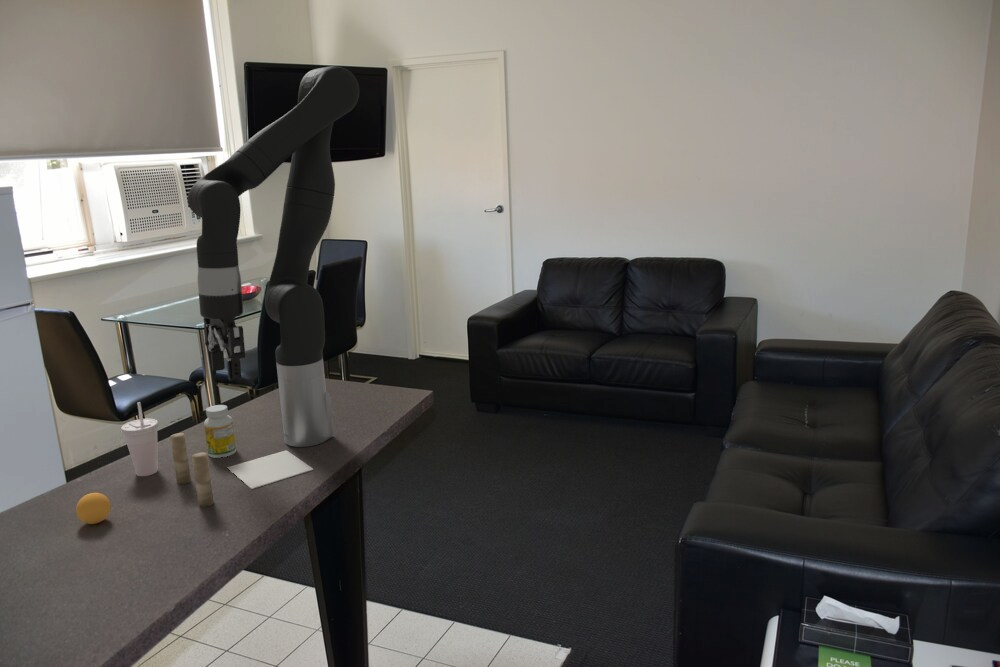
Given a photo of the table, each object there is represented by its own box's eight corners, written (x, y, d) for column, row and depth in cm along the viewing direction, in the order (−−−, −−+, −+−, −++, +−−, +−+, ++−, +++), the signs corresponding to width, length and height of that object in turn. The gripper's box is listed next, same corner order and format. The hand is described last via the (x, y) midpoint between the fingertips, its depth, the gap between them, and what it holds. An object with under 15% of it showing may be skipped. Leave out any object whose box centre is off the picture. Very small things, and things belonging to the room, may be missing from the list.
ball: (108, 511, 127) (104, 484, 126) (116, 522, 123) (111, 494, 122) (75, 521, 124) (70, 493, 123) (82, 532, 120) (77, 504, 119)
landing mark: (286, 451, 150) (286, 450, 150) (313, 469, 141) (313, 468, 141) (227, 468, 143) (226, 467, 143) (251, 489, 134) (251, 488, 134)
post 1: (188, 477, 140) (182, 432, 137) (192, 481, 138) (186, 435, 136) (175, 480, 138) (168, 435, 136) (179, 485, 136) (172, 439, 134)
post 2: (210, 499, 131) (204, 451, 128) (215, 503, 129) (209, 455, 127) (196, 503, 129) (189, 455, 127) (201, 508, 127) (194, 459, 125)
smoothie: (151, 480, 139) (140, 409, 135) (120, 478, 140) (109, 407, 136) (172, 466, 145) (162, 397, 141) (143, 463, 146) (132, 395, 142)
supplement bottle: (237, 455, 149) (231, 410, 146) (208, 460, 147) (202, 414, 144) (235, 446, 153) (230, 401, 151) (207, 450, 152) (201, 406, 149)
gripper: (255, 293, 135) (260, 379, 139) (226, 283, 146) (232, 363, 150) (213, 298, 131) (220, 387, 134) (186, 287, 141) (193, 370, 145)
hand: (226, 374), depth 142 cm, fingers open, 8 cm apart
